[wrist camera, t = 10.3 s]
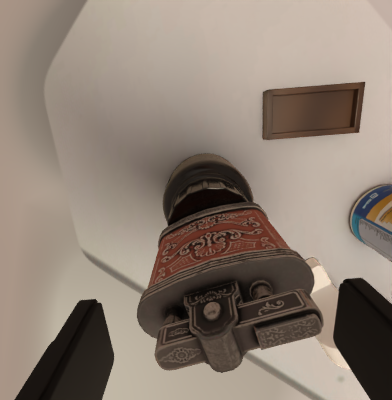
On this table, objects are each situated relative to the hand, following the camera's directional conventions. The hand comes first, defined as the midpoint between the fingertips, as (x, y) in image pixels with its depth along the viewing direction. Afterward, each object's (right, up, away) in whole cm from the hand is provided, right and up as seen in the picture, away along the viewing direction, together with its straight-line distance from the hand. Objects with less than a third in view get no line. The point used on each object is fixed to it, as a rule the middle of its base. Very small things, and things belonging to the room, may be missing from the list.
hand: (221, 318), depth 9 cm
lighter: (0, +2, +8) cm, 9 cm away
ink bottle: (0, +6, +20) cm, 21 cm away
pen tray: (+11, +14, +17) cm, 25 cm away
